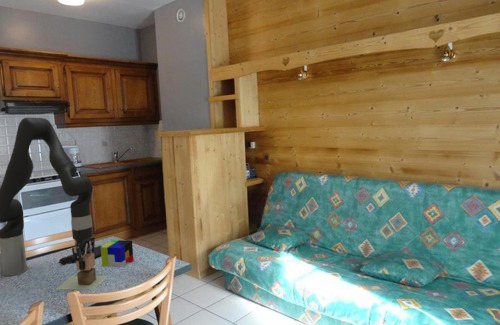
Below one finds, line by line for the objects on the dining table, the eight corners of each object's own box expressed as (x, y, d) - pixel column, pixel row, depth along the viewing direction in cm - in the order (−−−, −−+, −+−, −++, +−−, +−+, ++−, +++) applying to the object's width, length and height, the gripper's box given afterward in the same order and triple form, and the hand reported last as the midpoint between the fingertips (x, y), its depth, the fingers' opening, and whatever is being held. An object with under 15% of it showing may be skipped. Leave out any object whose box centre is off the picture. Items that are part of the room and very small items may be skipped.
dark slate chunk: (113, 253, 182) (113, 244, 182) (72, 269, 164) (71, 259, 163) (95, 248, 190) (94, 240, 190) (54, 263, 172) (53, 253, 171)
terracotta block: (77, 270, 143) (75, 258, 142) (83, 265, 148) (82, 253, 147) (89, 270, 143) (88, 258, 142) (95, 265, 148) (94, 253, 147)
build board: (55, 292, 141) (55, 289, 141) (72, 278, 153) (71, 276, 152) (94, 291, 140) (94, 288, 140) (108, 278, 152) (108, 275, 152)
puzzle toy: (122, 269, 161) (120, 248, 160) (102, 268, 163) (100, 247, 162) (133, 260, 171) (132, 240, 169) (114, 259, 173) (113, 239, 171)
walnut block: (78, 285, 144) (77, 273, 143) (84, 279, 149) (83, 268, 148) (90, 284, 143) (89, 273, 143) (96, 279, 148) (95, 267, 148)
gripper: (82, 221, 150) (85, 260, 152) (62, 232, 136) (67, 274, 138) (99, 221, 150) (103, 259, 152) (82, 231, 136) (86, 274, 138)
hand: (86, 266), depth 145 cm, fingers closed on terracotta block, 5 cm apart
